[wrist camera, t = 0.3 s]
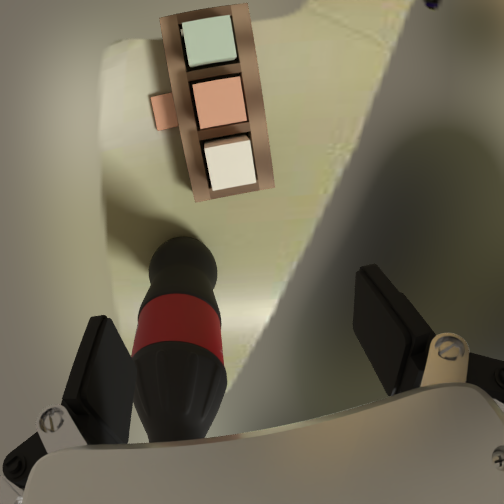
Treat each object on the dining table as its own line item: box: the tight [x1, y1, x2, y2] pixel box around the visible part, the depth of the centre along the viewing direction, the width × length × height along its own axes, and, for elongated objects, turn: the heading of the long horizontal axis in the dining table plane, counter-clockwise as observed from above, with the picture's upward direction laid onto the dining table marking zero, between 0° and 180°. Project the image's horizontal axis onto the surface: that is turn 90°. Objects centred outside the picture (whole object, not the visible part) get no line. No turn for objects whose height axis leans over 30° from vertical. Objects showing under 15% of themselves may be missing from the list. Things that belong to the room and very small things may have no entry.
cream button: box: [204, 135, 256, 191], centre depth 33 cm, size 4×4×4 cm
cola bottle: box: [131, 237, 227, 443], centre depth 29 cm, size 8×8×30 cm
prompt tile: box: [151, 92, 179, 131], centre depth 32 cm, size 4×2×1 cm, turn 8°
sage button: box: [182, 15, 237, 68], centre depth 26 cm, size 4×4×4 cm
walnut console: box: [160, 3, 275, 203], centre depth 31 cm, size 21×9×3 cm, turn 8°
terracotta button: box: [193, 76, 247, 129], centre depth 30 cm, size 4×4×4 cm
